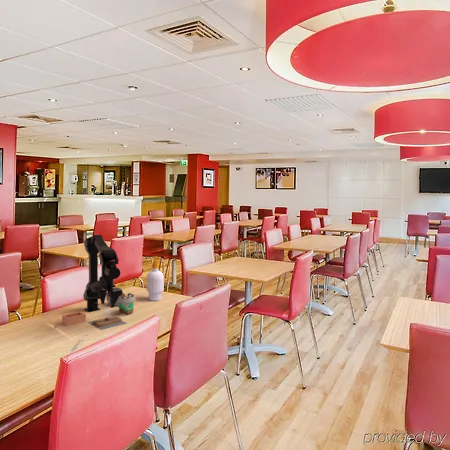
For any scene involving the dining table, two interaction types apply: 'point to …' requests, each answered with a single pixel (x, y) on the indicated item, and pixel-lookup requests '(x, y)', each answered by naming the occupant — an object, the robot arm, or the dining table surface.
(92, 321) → the mat
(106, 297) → the tin
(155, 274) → the soap bottle
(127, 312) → the food container
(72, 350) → the spoon
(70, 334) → the dining table surface
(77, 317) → the dish
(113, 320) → the lid
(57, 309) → the dining table surface
